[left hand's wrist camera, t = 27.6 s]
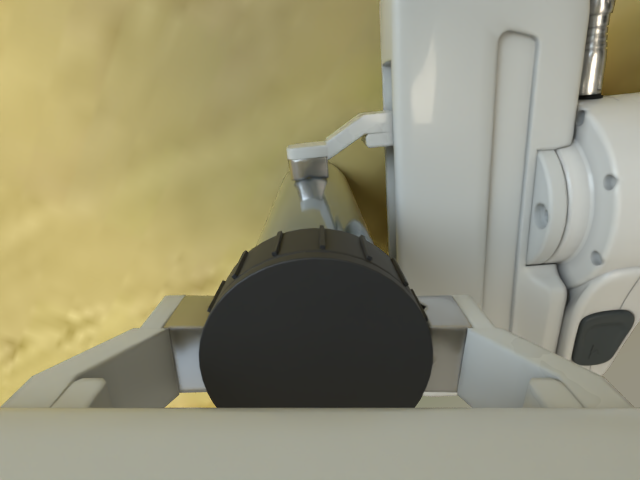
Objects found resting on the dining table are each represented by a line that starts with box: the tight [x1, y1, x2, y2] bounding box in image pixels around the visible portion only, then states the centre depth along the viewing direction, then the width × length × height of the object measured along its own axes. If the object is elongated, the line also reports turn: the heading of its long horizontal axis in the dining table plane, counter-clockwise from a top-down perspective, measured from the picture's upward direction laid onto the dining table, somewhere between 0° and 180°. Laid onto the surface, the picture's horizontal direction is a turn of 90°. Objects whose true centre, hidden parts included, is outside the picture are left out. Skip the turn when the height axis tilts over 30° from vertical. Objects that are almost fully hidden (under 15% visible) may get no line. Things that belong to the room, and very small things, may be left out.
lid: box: [199, 225, 433, 408], centre depth 9 cm, size 5×5×2 cm
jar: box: [256, 163, 375, 246], centre depth 16 cm, size 4×4×15 cm
